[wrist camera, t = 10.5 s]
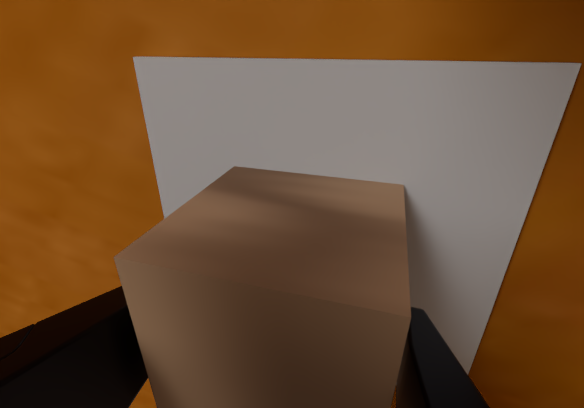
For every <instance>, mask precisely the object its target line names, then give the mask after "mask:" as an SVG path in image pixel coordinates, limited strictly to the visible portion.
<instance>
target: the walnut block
mask: <svg viewBox="0 0 584 408" xmlns="http://www.w3.org/2000/svg"><path fill="white" fill-rule="evenodd" d="M114 260H115V264H116V267H117V271H118V274H119V277H120V281H121V284H122V288H123V291H124V295H125V298H126V302H127V305H128V309H129V312H130V315H131V319H132V322H133V326H134V329H135V333H136V336H137V340H138V343H139V347H140V350H141V354H142V357H143V360H144V364H145V367H146V371H147V374H148V378H149V381H150V385H151V388H152V392H153V395H154V399H155V402H156V405H157V408H391V404H392V400H393V395H394V391H395V386H396V382H397V378H398V373H399V369H400V364H401V360H402V356H403V351H404V347H405V342H406V338H407V334H408V329H409V325H410V320H411V305H410V288H409V270H408V253H407V235H406V218H405V200H404V185H402V184H393V183H384V182H375V181H365V180H356V179H347V178H338V177H329V176H320V175H311V174H301V173H292V172H283V171H274V170H265V169H256V168H247V167H238V166H234V167H232V168H231V169H230V170H228V171H227V172H226V173H225V174H223V175H222V176H221V177H219V178H218V179H217V180H215V181H214V182H213V183H211V184H210V185H209V186H207V187H206V188H205V189H203V190H202V191H201V192H199V193H198V194H197V195H195V196H194V197H193V198H191V199H190V200H189V201H187V202H186V203H185V204H183V205H182V206H181V207H179V208H178V209H177V210H176V211H174V212H173V213H172V214H170V215H169V216H168V217H166V218H165V219H164V220H162V221H161V222H160V223H158V224H157V225H156V226H154V227H153V228H152V229H150V230H149V231H148V232H146V233H145V234H144V235H142V236H141V237H140V238H138V239H137V240H136V241H134V242H133V243H132V244H130V245H129V246H128V247H127V248H125V249H124V250H123V251H121V252H120V253H119V254H117V255H116V256H115V257H114Z"/></svg>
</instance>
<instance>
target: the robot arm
mask: <svg viewBox="0 0 584 408" xmlns="http://www.w3.org/2000/svg"><path fill="white" fill-rule="evenodd" d="M147 379H148V374H147V371H146V367H145V364H144V360H143V357H142V354H141V350H140V347H139V343H138V340H137V336H136V333H135V329H134V326H133V322H132V319H131V315H130V312H129V309H128V305H127V302H126V298H125V295H124V291H123V288H122V286H120V287H118V288H116V289H113V290H111V291H109V292H106V293H104V294H102V295H99V296H97V297H95V298H92V299H90V300H88V301H86V302H83V303H81V304H79V305H76V306H74V307H72V308H69V309H67V310H65V311H62V312H60V313H58V314H55V315H53V316H51V317H48V318H46V319H44V320H41V321H39V322H37V323H36V324H32V325H30V326H27V327H25V328H23V329H20V330H18V331H16V332H13V333H11V334H9V335H6V336H4V337H1V338H0V408H129V406H130V405H131V403H132V402H133V400H134V399H135V397H136V396H137V394H138V392H139V391H140V389H141V388H142V386H143V385H144V383H145V382H146V380H147ZM396 408H490V407H489V406H488V404H487V403H486V401H485V400H484V398H483V397H482V395H481V394H480V392H479V391H478V389H477V388H476V386H475V385H474V383H473V382H472V380H471V379H470V377H469V376H468V374H467V373H466V371H465V370H464V369H463V367H462V366H461V364H460V363H459V361H458V360H457V358H456V357H455V355H454V354H453V352H452V351H451V349H450V348H449V346H448V345H447V343H446V342H445V340H444V339H443V337H442V336H441V334H440V333H439V331H438V330H437V328H436V327H435V325H434V324H433V322H432V321H431V319H430V318H429V316H428V315H427V313H426V312H425V311H424V310H423V309H421V308H415V307H411V320H410V325H409V329H408V334H407V338H406V342H405V347H404V351H403V356H402V360H401V364H400V369H399V373H398V378H397V385H396Z"/></svg>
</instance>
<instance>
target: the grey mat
mask: <svg viewBox="0 0 584 408" xmlns="http://www.w3.org/2000/svg"><path fill="white" fill-rule="evenodd" d="M133 60H134V66H135V71H136V76H137V81H138V86H139V91H140V96H141V101H142V106H143V111H144V117H145V122H146V127H147V132H148V137H149V142H150V147H151V152H152V157H153V162H154V168H155V173H156V178H157V183H158V188H159V193H160V198H161V203H162V208H163V213H164V219H165V218H166V217H168V216H169V215H170V214H172V213H173V212H174V211H176V210H177V209H178V208H179V207H181V206H182V205H183V204H185V203H186V202H187V201H189V200H190V199H191V198H193V197H194V196H195V195H197V194H198V193H199V192H201V191H202V190H203V189H205V188H206V187H207V186H209V185H210V184H211V183H213V182H214V181H215V180H217V179H218V178H219V177H221V176H222V175H223V174H225V173H226V172H227V171H228V170H230V169H231V168H232V167H234V166H238V167H247V168H256V169H265V170H274V171H283V172H292V173H301V174H311V175H320V176H329V177H338V178H347V179H356V180H365V181H375V182H384V183H393V184H402V185H404V200H405V218H406V235H407V253H408V270H409V288H410V305H411V307H415V308H421V309H423V310H424V311H425V312H426V313H427V315H428V316H429V318H430V319H431V321H432V322H433V324H434V325H435V327H436V328H437V330H438V331H439V333H440V334H441V336H442V337H443V339H444V340H445V342H446V343H447V345H448V346H449V348H450V349H451V351H452V352H453V354H454V355H455V357H456V358H457V360H458V361H459V363H460V364H461V366H462V367H463V369H464V370H465V371H466V373H467V374H469V371H470V368H471V365H472V363H473V360H474V357H475V354H476V352H477V349H478V346H479V343H480V341H481V338H482V335H483V332H484V330H485V327H486V324H487V322H488V319H489V316H490V313H491V311H492V308H493V305H494V302H495V300H496V297H497V294H498V291H499V289H500V286H501V283H502V280H503V278H504V275H505V272H506V269H507V267H508V264H509V261H510V258H511V256H512V253H513V250H514V248H515V245H516V242H517V239H518V237H519V234H520V231H521V228H522V226H523V223H524V220H525V217H526V215H527V212H528V209H529V206H530V204H531V201H532V198H533V195H534V193H535V190H536V187H537V184H538V182H539V179H540V176H541V174H542V171H543V168H544V165H545V163H546V160H547V157H548V154H549V152H550V149H551V146H552V143H553V141H554V138H555V135H556V132H557V130H558V127H559V124H560V121H561V119H562V116H563V113H564V110H565V108H566V105H567V102H568V99H569V97H570V94H571V91H572V89H573V86H574V83H575V80H576V78H577V75H578V72H579V69H580V67H581V64H582V63H557V62H486V61H415V60H344V59H273V58H202V57H133ZM396 385H397V382H396Z"/></svg>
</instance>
